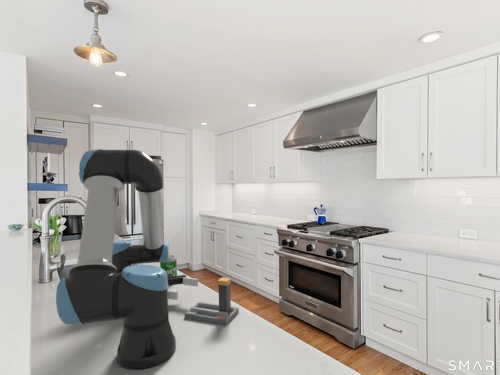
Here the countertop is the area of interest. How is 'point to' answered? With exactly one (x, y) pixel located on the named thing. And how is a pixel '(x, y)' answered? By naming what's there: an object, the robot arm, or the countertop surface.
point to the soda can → (170, 266)
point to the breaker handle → (224, 294)
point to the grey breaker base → (211, 313)
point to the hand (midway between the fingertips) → (188, 288)
